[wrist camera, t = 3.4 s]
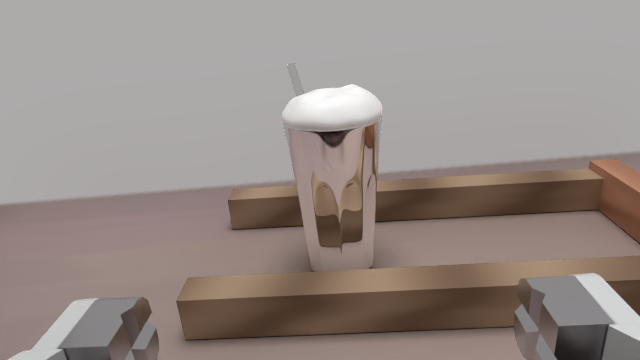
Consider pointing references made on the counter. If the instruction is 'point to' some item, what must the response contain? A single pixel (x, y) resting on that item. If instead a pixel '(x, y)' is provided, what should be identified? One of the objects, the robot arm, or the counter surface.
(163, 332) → the counter surface
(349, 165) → the milkshake
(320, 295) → the rail guide
